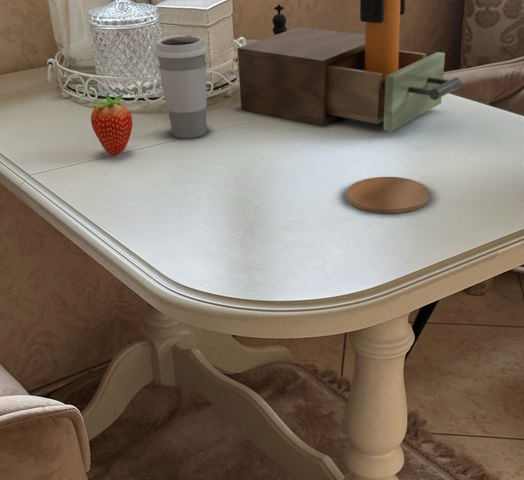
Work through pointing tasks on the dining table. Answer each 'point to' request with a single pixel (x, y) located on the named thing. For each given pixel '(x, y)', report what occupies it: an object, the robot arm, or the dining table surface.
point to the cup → (184, 83)
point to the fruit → (112, 124)
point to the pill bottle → (383, 41)
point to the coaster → (388, 195)
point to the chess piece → (279, 21)
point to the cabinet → (293, 72)
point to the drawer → (387, 88)
